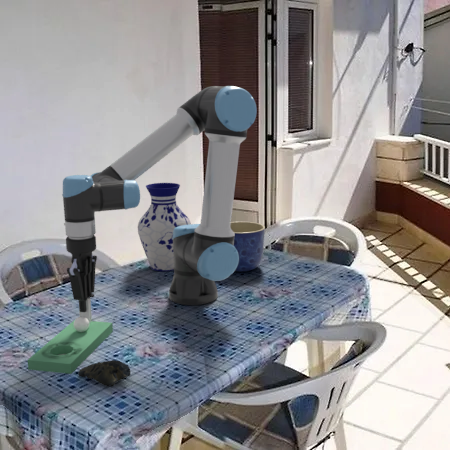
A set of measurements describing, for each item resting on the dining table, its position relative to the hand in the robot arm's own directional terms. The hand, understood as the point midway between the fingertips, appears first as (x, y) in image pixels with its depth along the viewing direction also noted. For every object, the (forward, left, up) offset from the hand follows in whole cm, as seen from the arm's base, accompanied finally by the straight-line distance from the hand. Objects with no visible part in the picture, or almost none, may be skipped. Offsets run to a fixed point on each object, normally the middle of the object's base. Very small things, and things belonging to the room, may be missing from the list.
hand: (85, 321), depth 163 cm
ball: (0, +3, 0) cm, 3 cm away
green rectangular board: (0, +9, -4) cm, 9 cm away
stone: (-15, +22, -4) cm, 27 cm away
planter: (-29, -66, -4) cm, 72 cm away
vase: (-2, -62, -4) cm, 62 cm away
